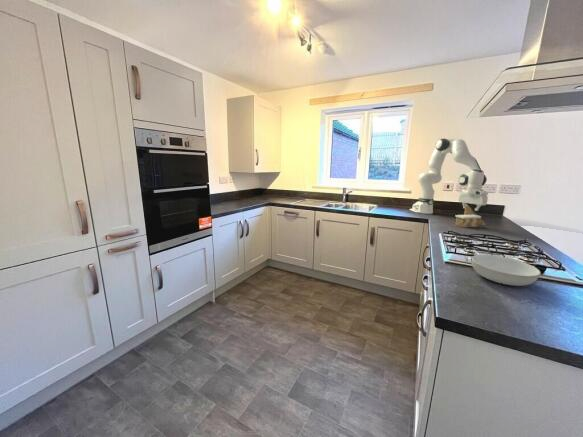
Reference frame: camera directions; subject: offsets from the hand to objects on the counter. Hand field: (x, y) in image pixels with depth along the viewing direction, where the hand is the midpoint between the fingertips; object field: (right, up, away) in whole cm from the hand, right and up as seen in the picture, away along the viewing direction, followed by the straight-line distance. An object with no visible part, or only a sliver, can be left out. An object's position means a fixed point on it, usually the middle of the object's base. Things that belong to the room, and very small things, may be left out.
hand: (470, 209), depth 182 cm
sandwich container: (+14, -11, +14) cm, 22 cm away
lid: (0, -6, +2) cm, 6 cm away
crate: (-1, -13, +3) cm, 13 cm away
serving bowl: (-52, -32, -84) cm, 104 cm away
